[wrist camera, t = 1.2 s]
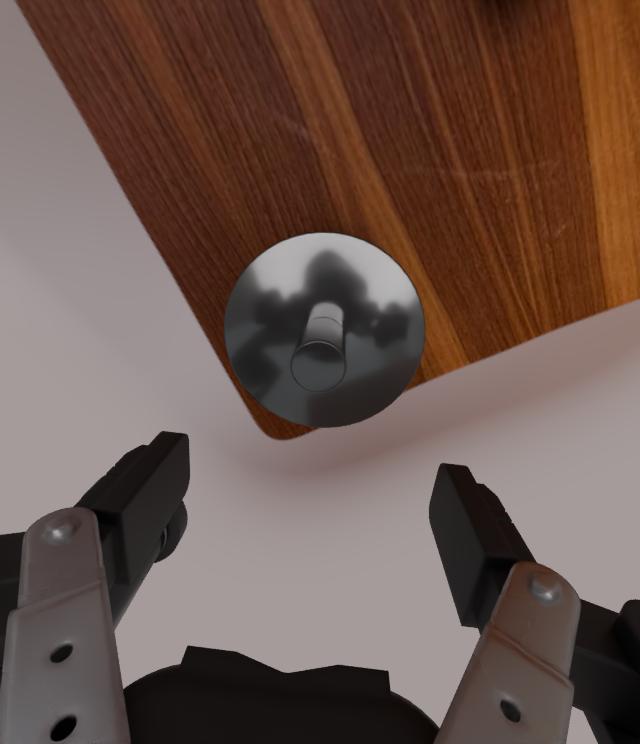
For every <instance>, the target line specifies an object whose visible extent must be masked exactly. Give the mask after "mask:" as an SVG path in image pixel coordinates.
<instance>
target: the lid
mask: <svg viewBox="0 0 640 744" xmlns="http://www.w3.org/2000/svg"><path fill="white" fill-rule="evenodd" d="M224 337H225V344H226V350H227V354H228V357H229V360H230V363H231V365H232V368H233V370H234V372H235V374H236V376H237V377H238V379H239V381H240V382H241V384H242V385H243V387H244V388H245V389H246V390H247V392H248V393H249V394H250V395H251V396H252V397H253V398H254V399H255V400H256V401H257V402H258V403H259V404H261V405H262V406H263V407H265V408H266V409H267V410H269V411H270V412H272V413H274V414H275V415H277V416H279V417H281V418H283V419H286V420H288V421H290V422H294V423H297V424H300V425H305V426H310V427H321V428H330V427H341V426H347V425H351V424H354V423H358V422H361V421H363V420H366V419H368V418H370V417H372V416H374V415H376V414H378V413H379V412H381V411H382V410H384V409H385V408H386V407H388V406H389V405H391V404H392V403H393V402H394V401H395V400H396V399H397V398H398V397H399V396H400V395H401V394H402V392H403V391H404V390H405V389H406V388H407V386H408V385H409V383H410V382H411V380H412V378H413V377H414V375H415V373H416V371H417V368H418V366H419V364H420V361H421V357H422V354H423V349H424V343H425V318H424V311H423V308H422V304H421V300H420V297H419V295H418V293H417V290H416V288H415V286H414V284H413V283H412V281H411V279H410V278H409V276H408V274H407V273H406V272H405V271H404V270H403V268H402V267H401V266H400V265H399V263H397V262H396V261H395V260H394V259H393V258H392V257H391V256H390V255H389V254H388V253H386V252H385V251H383V250H382V249H380V248H379V247H378V246H376V245H374V244H372V243H370V242H368V241H366V240H364V239H361V238H358V237H355V236H352V235H349V234H343V233H338V232H324V231H320V232H309V233H304V234H299V235H295V236H292V237H289V238H287V239H284V240H282V241H279V242H278V243H276V244H274V245H272V246H270V247H269V248H267V249H266V250H264V251H263V252H262V253H261V254H259V255H258V256H257V257H256V258H255V259H254V260H253V261H252V262H251V263H250V264H249V265H248V266H247V267H246V268H245V270H244V271H243V272H242V274H241V275H240V276H239V278H238V280H237V282H236V284H235V285H234V287H233V289H232V292H231V294H230V297H229V300H228V303H227V308H226V312H225V321H224Z"/></svg>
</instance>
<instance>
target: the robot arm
mask: <svg viewBox="0 0 640 744" xmlns="http://www.w3.org/2000/svg"><path fill="white" fill-rule="evenodd" d="M189 480H190V462H189V438H188V435H187V434H183V433H175V432H166V431H162V432H160V433H159V434H158V435H157V436H156V438H155V439H154V440H153V441H152V442H151V443H150V444H149V445H141V446H139V447H137V448H135V449H134V450H131V451H130V452H128V453H126V454H125V455H124V456H123V457H122V458H121V459H120V460H119V461H118V462H117V463H116V464H115V467H114V466H113V467H112V468H111V469H110V470H109V471H108V472H107V474H106V476H103V477H102V478H101V479H100V480H99V481H98V482H97V483H96V484H95V485H94V486H93V487H92V488H91V489H90V490H89V491H88V492H87V493H86V494H85V495H84V496H83V497H82V499H81V500H80V501H79V502H78V503H77V504H76V505H75V506H74V507H71V508H65V509H60V510H57V511H54V512H52V513H49V514H48V515H46V516H44V517H42V518H40V519H39V520H37V521H36V522H35V523H33V524H32V525H31V526H30V527H29V529H28V530H27V531H26V532H21V533H12V534H4V535H0V744H566V740H567V734H568V727H569V721H570V715H571V709H572V706H573V707H575V708H577V709H580V710H582V711H583V712H584V714H585V716H586V718H587V720H588V723H589V725H590V727H591V729H592V731H593V734H594V736H595V738H596V740H597V742H598V744H640V600H636V599H635V600H629V601H627V602H626V603H625V604H624V605H623V607H622V609H621V611H620V613H616V612H614V611H611V610H609V609H606V608H603V607H601V606H598V605H595V604H593V603H590V602H587V601H585V600H582V599H580V598H579V596H578V594H577V593H576V591H575V590H574V588H573V587H572V586H571V585H570V583H568V581H567V580H566V579H564V578H563V577H562V576H561V575H559V574H558V573H557V572H555V571H553V570H552V569H550V568H548V567H546V566H544V565H541V564H538V563H537V562H536V560H535V559H534V557H533V555H532V554H531V552H530V550H529V549H528V547H527V545H526V544H525V542H524V540H523V539H522V537H521V535H520V534H519V532H518V530H517V529H516V527H515V525H514V524H513V523H512V520H511V519H510V517H509V515H508V514H507V512H505V508H504V507H503V505H502V503H501V502H500V500H499V498H498V497H497V496H496V495H495V494H494V493H493V492H492V491H491V490H490V489H489V488H487V487H486V486H485V485H484V484H478V483H476V481H475V479H474V477H473V476H472V474H471V472H470V470H469V468H468V467H467V466H463V465H455V464H446V463H442V464H440V466H439V469H438V472H437V476H436V480H435V484H434V488H433V492H432V496H431V500H430V505H429V519H430V524H431V528H432V531H433V535H434V537H435V541H436V544H437V548H438V551H439V554H440V557H441V561H442V564H443V567H444V570H445V574H446V577H447V580H448V583H449V587H450V590H451V593H452V596H453V600H454V603H455V606H456V609H457V613H458V616H459V619H460V623H461V625H462V626H466V627H474V628H478V629H479V632H480V635H481V636H480V638H479V641H478V643H477V645H476V648H475V650H474V652H473V654H472V657H471V659H470V661H469V664H468V666H467V668H466V670H465V673H464V675H463V677H462V680H461V682H460V684H459V686H458V689H457V691H456V693H455V695H454V698H453V700H452V702H451V705H450V707H449V709H448V712H447V714H446V716H445V718H444V720H443V723H442V725H441V727H440V728H439V727H438V726H437V725H436V724H435V723H434V721H433V720H431V719H430V718H429V717H428V716H427V715H426V714H425V713H424V712H423V711H422V710H421V709H419V708H418V707H417V706H415V705H414V704H413V703H411V702H410V701H409V700H407V699H405V698H403V697H402V696H400V695H398V694H396V693H394V692H392V691H390V683H389V672H388V671H384V670H377V669H368V668H361V667H353V666H345V665H334V666H328V667H322V668H316V669H310V670H305V671H298V672H292V673H284V672H281V671H279V670H276V669H274V668H272V667H270V666H267V665H265V664H263V663H261V662H258V661H256V660H254V659H252V658H249V657H247V656H245V655H243V654H240V653H238V652H235V651H226V650H219V649H211V648H203V647H195V646H187V649H186V651H185V654H184V657H183V659H182V662H181V664H179V665H173V666H169V667H166V668H163V669H160V670H157V671H155V672H153V673H150V674H148V675H146V676H144V677H142V678H140V679H138V680H137V681H135V682H133V683H132V684H130V685H129V686H127V687H126V688H124V689H123V686H122V679H121V672H120V666H119V659H118V653H117V647H116V639H115V633H114V631H115V629H116V627H117V626H118V624H119V622H120V620H121V619H122V617H123V615H124V613H125V612H126V610H127V608H128V606H129V605H130V603H131V601H132V599H133V598H134V596H135V594H136V593H137V591H138V589H139V587H140V586H141V584H142V582H143V580H144V579H145V577H146V575H147V574H148V572H149V570H150V568H151V567H152V565H153V563H154V561H155V560H156V558H157V556H158V555H159V553H160V552H161V551H162V549H163V548H164V546H165V544H166V542H167V540H168V535H169V530H168V525H167V524H168V522H169V521H170V519H171V517H172V516H173V514H174V512H175V511H176V509H177V507H178V506H179V504H180V502H181V501H182V499H183V497H184V496H185V494H186V491H187V489H188V485H189Z"/></svg>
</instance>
